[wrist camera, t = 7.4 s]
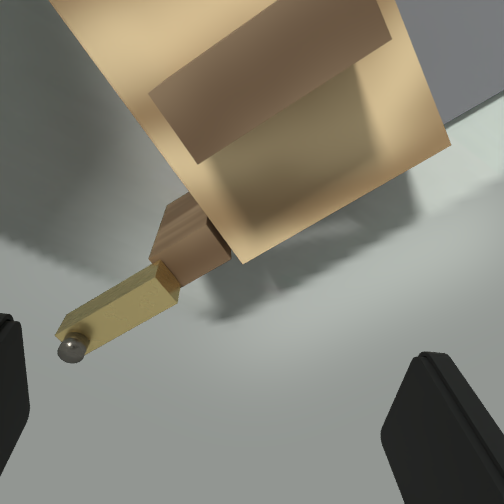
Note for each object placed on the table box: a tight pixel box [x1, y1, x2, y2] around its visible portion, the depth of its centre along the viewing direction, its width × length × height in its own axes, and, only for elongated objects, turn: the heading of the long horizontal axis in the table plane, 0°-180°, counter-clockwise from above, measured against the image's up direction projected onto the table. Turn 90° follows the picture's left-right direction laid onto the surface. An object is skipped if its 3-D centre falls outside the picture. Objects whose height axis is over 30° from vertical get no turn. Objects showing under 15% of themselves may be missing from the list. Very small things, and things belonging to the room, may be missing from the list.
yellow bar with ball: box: [55, 260, 181, 363], centre depth 24 cm, size 2×7×3 cm, turn 121°
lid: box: [49, 0, 451, 264], centre depth 18 cm, size 18×13×8 cm
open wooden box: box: [149, 192, 231, 288], centre depth 24 cm, size 18×17×8 cm
